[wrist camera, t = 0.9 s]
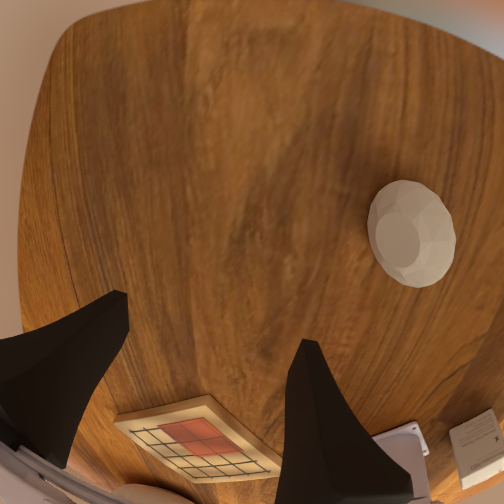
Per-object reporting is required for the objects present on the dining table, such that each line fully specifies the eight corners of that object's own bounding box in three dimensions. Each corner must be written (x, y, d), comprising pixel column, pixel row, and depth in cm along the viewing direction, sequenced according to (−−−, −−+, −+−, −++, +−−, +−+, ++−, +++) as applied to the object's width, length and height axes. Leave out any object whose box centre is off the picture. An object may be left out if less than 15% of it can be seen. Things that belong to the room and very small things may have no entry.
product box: (492, 406, 23) (510, 453, 16) (491, 427, 24) (506, 469, 18) (447, 429, 25) (460, 479, 18) (451, 447, 26) (461, 491, 20)
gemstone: (477, 273, 15) (445, 305, 13) (404, 261, 20) (360, 284, 18) (473, 172, 14) (440, 179, 12) (395, 176, 19) (348, 185, 17)
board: (291, 464, 30) (290, 475, 29) (196, 475, 36) (193, 483, 34) (209, 393, 26) (204, 405, 25) (116, 414, 32) (111, 423, 30)
